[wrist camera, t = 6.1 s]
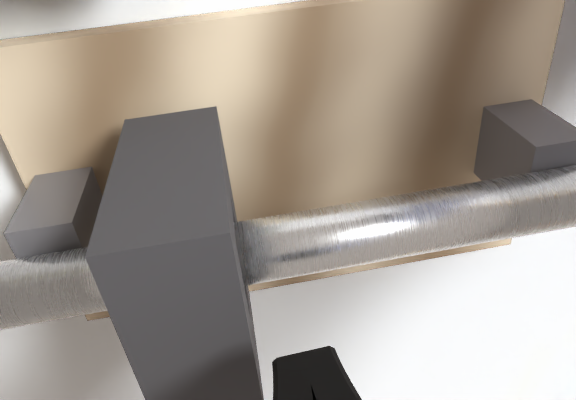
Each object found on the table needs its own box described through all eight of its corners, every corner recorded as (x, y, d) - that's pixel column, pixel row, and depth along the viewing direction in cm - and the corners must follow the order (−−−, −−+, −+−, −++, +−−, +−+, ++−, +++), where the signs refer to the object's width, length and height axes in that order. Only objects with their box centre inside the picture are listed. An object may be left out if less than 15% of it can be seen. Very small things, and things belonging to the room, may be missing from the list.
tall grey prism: (216, 106, 16) (229, 232, 10) (245, 264, 20) (266, 421, 14) (124, 119, 16) (85, 257, 10) (172, 277, 20) (163, 442, 14)
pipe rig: (553, -31, 17) (720, 8, 12) (499, 232, 24) (590, 334, 18) (-26, 43, 16) (-146, 130, 10) (91, 304, 22) (58, 442, 17)
